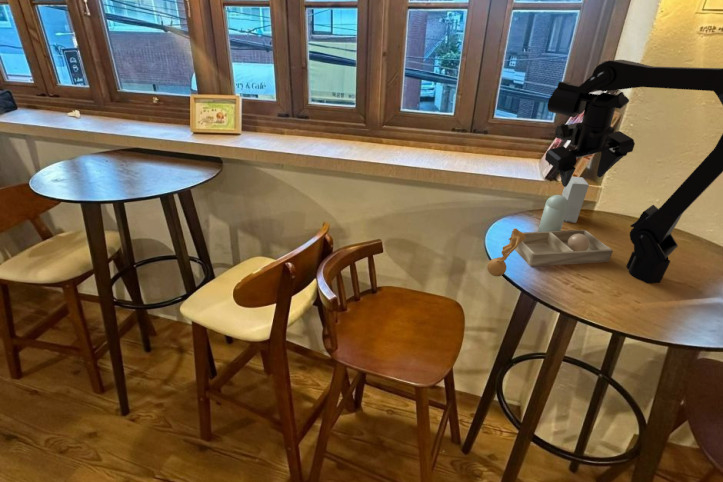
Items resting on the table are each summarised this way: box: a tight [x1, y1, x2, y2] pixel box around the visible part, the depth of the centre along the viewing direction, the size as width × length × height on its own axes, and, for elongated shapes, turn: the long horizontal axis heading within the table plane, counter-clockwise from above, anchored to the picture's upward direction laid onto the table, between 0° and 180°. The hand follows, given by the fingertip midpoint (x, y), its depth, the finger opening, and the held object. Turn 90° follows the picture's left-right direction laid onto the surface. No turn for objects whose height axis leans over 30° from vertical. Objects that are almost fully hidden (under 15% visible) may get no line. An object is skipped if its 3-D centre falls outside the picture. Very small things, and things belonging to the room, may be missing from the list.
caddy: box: [508, 229, 614, 267], centre depth 96 cm, size 10×20×4 cm, turn 99°
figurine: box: [486, 228, 526, 277], centre depth 86 cm, size 8×6×12 cm
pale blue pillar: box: [537, 194, 568, 232], centre depth 103 cm, size 5×5×12 cm
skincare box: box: [561, 175, 590, 224], centre depth 112 cm, size 6×4×12 cm
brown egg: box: [568, 234, 589, 251], centre depth 97 cm, size 5×5×5 cm
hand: (581, 181), depth 99 cm, fingers open, 9 cm apart
